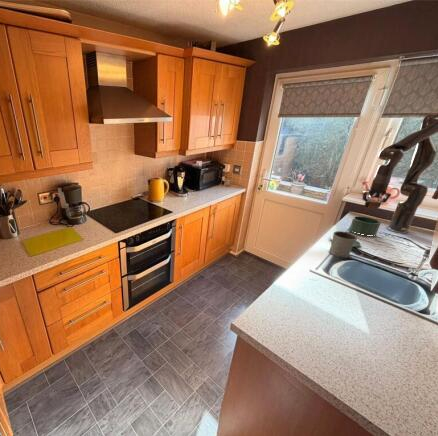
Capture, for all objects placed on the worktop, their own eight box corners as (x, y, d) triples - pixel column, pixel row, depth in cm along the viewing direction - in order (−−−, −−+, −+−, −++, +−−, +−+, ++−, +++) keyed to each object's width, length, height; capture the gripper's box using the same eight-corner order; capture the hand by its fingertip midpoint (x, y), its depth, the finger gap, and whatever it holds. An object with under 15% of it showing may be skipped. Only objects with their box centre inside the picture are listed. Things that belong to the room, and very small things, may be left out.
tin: (346, 227, 165) (350, 215, 161) (370, 230, 160) (375, 217, 157) (353, 235, 153) (358, 222, 150) (379, 238, 148) (385, 225, 145)
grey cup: (344, 251, 133) (351, 232, 129) (354, 260, 124) (361, 240, 120) (324, 248, 136) (330, 230, 131) (332, 257, 127) (339, 238, 122)
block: (365, 206, 153) (367, 199, 151) (374, 207, 151) (376, 200, 150) (368, 208, 149) (370, 201, 147) (377, 209, 147) (379, 202, 146)
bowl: (326, 235, 152) (329, 226, 150) (354, 239, 147) (357, 230, 145) (333, 245, 140) (337, 235, 137) (364, 249, 135) (367, 239, 132)
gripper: (392, 181, 144) (382, 207, 151) (363, 179, 150) (355, 204, 156) (399, 184, 138) (388, 210, 144) (369, 182, 143) (359, 208, 149)
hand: (371, 207), depth 150 cm, fingers closed on block, 4 cm apart
